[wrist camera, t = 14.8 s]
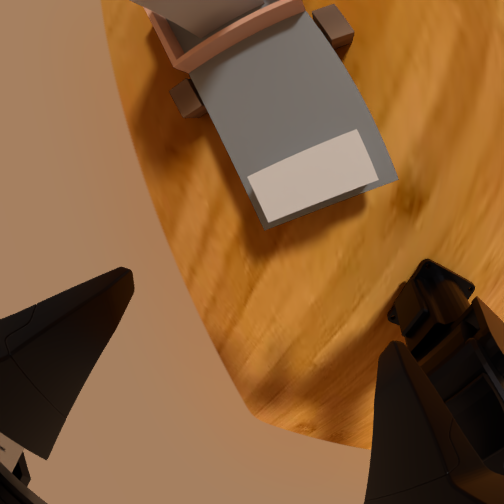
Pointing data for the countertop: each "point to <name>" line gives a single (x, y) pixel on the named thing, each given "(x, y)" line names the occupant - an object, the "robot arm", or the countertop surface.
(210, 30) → the grey block
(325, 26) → the pivot stand
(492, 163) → the countertop surface
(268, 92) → the board
